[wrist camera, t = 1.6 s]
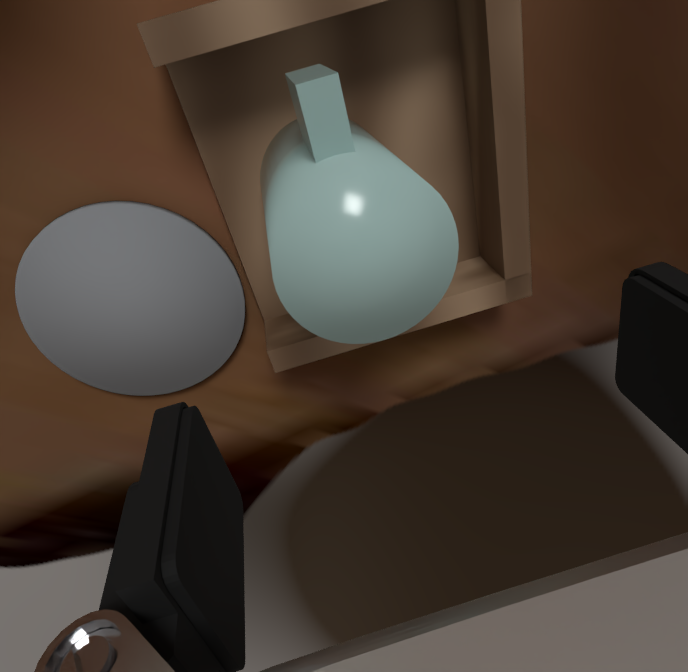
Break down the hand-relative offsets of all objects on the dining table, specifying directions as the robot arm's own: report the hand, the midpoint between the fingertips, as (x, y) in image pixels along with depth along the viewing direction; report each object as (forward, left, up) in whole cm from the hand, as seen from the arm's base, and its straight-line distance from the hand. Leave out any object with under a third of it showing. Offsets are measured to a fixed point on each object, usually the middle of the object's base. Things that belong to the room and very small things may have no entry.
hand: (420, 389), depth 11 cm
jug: (0, -1, -18) cm, 18 cm away
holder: (-2, 0, -19) cm, 19 cm away
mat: (+12, +4, -19) cm, 23 cm away
